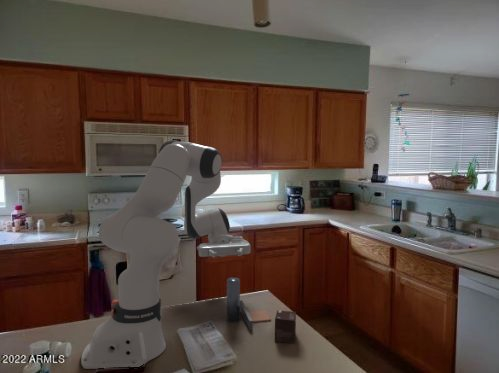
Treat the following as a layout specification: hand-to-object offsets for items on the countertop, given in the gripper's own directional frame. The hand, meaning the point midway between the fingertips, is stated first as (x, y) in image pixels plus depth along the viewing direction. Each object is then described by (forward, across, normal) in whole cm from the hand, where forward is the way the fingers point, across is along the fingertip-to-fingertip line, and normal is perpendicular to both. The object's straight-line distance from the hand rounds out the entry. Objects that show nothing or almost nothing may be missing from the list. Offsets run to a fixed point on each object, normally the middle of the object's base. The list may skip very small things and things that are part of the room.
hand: (227, 254), depth 130 cm
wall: (+12, +4, +19) cm, 23 cm away
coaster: (+12, +9, +19) cm, 24 cm away
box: (+27, +13, +19) cm, 36 cm away
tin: (+12, 0, +19) cm, 23 cm away
